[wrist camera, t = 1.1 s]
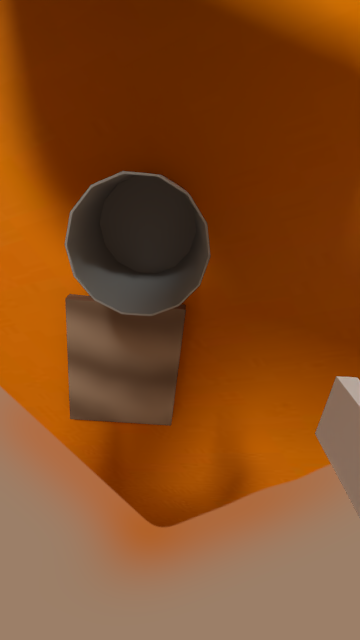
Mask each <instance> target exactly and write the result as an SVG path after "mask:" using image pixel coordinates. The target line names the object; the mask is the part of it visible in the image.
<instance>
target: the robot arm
mask: <svg viewBox="0 0 360 640" xmlns="http://www.w3.org/2000/svg"><path fill="white" fill-rule="evenodd" d="M315 434H316V436H317V438H318V440H319V442H320V444H321V446H322V447H323V449H324V451H325V453H326V455H327V457H328V459H329V461H330V463H331V465H332V466H333V468H334V470H335V472H336V474H337V476H338V478H339V480H340V482H341V483H342V485H343V487H344V489H345V491H346V493H347V495H348V497H349V499H350V500H351V502H352V504H353V506H354V508H355V510H356V512H357V514H358V516H359V518H360V380H359V379H358V378H357V377H340V376H336V378H335V381H334V384H333V387H332V389H331V392H330V395H329V398H328V400H327V403H326V406H325V408H324V411H323V414H322V417H321V419H320V422H319V425H318V427H317V430H316V433H315Z"/></svg>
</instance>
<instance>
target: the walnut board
mask: <svg viewBox="0 0 360 640" xmlns="http://www.w3.org/2000/svg"><path fill="white" fill-rule="evenodd" d="M185 312H186V307H185V305H180V306H178V307H175V308H172V309H170V310H167V311H164V312H161V313H159V314H156V315H153V316H141V315H126V314H120V313H118V312H116V311H114V310H112V309H110V308H108V307H106V306H104V305H102V304H101V303H99V302H97V301H95V300H94V299H93V298H92V297H91V296H83V295H72V294H69V295H68V296H67V298H66V323H67V348H68V373H69V398H70V419H79V420H94V421H110V422H125V423H141V424H156V425H171V422H172V414H173V406H174V398H175V390H176V382H177V375H178V367H179V359H180V351H181V343H182V335H183V328H184V320H185Z"/></svg>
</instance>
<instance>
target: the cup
mask: <svg viewBox="0 0 360 640" xmlns="http://www.w3.org/2000/svg"><path fill="white" fill-rule="evenodd" d="M65 248H66V251H67V255H68V258H69V261H70V265H71V268H72V272H73V275H74V277H75V278H76V279H77V280H78V282H79V283H80V284H81V285H82V286H83V288H84V289H85V290H86V291H87V292H88V294H89V295H90V296H91V297H92V298H93V299H94V300H95V301H97V302H99V303H101V304H102V305H104V306H106V307H108V308H110V309H112V310H114V311H116V312H118V313H120V314H126V315H141V316H153V315H156V314H159V313H161V312H164V311H167V310H170V309H172V308H175V307H178V306H180V305H181V304H182V303H183V302H184V301H185V300H186V299H187V298H188V297H189V296H190V295H191V294H192V293H193V292H194V291H195V290H196V289H197V288H198V287H199V286H200V284H201V281H202V278H203V276H204V273H205V270H206V267H207V264H208V262H209V259H210V246H209V236H208V226H207V222H206V221H205V219H204V217H203V216H202V214H201V212H200V211H199V209H198V207H197V206H196V204H195V202H194V201H193V199H192V198H191V196H190V194H189V193H188V192H187V191H186V190H184V189H183V188H182V187H181V186H179V185H177V184H176V183H174V182H173V181H171V180H170V179H168V178H166V177H165V176H163V175H160V174H151V173H140V172H129V171H122V172H119V173H117V174H115V175H112V176H110V177H108V178H106V179H103V180H101V181H99V182H96V183H94V184H92V185H90V187H89V188H88V189H87V191H86V192H85V193H84V194H83V196H82V197H81V198H80V200H79V201H78V202H77V204H76V205H75V206H74V207H73V209H72V210H71V211H70V216H69V222H68V228H67V234H66V239H65Z"/></svg>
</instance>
